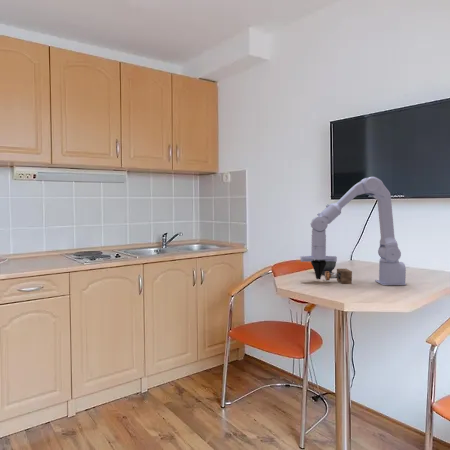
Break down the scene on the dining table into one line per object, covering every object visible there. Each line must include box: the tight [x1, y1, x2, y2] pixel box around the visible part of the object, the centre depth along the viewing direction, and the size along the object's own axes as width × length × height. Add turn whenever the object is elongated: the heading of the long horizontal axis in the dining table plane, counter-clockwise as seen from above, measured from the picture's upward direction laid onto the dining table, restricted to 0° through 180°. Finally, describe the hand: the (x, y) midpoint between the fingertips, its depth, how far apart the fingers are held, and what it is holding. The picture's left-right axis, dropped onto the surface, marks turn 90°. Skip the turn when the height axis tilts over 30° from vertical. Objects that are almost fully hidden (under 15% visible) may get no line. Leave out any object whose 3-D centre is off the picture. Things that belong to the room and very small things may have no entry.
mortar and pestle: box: [315, 259, 337, 276], centre depth 181 cm, size 11×9×12 cm
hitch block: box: [336, 268, 353, 285], centre depth 162 cm, size 4×7×5 cm, turn 1°
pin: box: [324, 271, 341, 281], centre depth 162 cm, size 6×4×4 cm, turn 91°
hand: (318, 278), depth 161 cm, fingers closed
